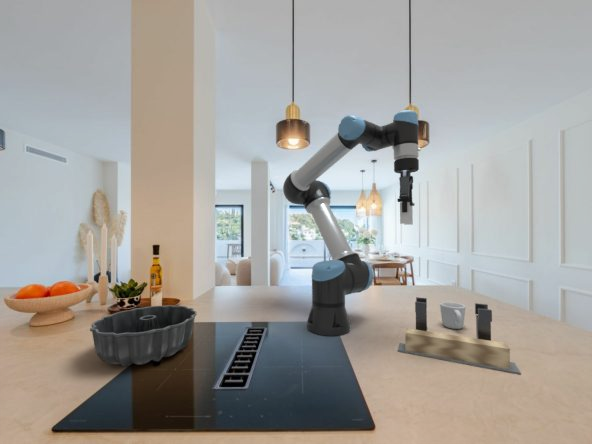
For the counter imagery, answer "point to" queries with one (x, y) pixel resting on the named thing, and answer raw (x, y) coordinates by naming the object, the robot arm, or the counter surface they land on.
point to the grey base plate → (512, 365)
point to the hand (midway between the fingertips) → (406, 224)
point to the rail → (458, 348)
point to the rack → (481, 309)
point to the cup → (452, 314)
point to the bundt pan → (142, 334)
